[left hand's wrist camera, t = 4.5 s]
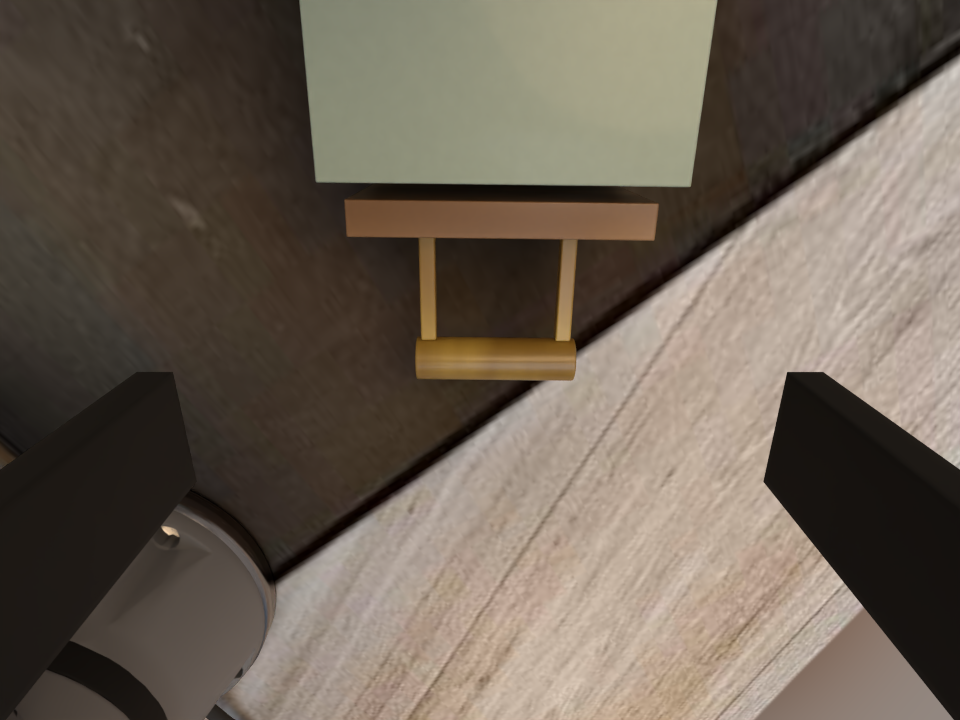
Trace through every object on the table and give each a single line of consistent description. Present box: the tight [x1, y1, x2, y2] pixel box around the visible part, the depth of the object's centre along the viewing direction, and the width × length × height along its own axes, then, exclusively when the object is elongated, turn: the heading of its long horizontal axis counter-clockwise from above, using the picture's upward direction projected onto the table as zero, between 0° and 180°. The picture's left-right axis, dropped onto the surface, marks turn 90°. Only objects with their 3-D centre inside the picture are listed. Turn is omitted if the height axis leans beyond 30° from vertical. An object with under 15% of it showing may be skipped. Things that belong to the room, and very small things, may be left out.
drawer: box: [344, 183, 659, 381], centre depth 20 cm, size 23×10×6 cm, turn 179°
